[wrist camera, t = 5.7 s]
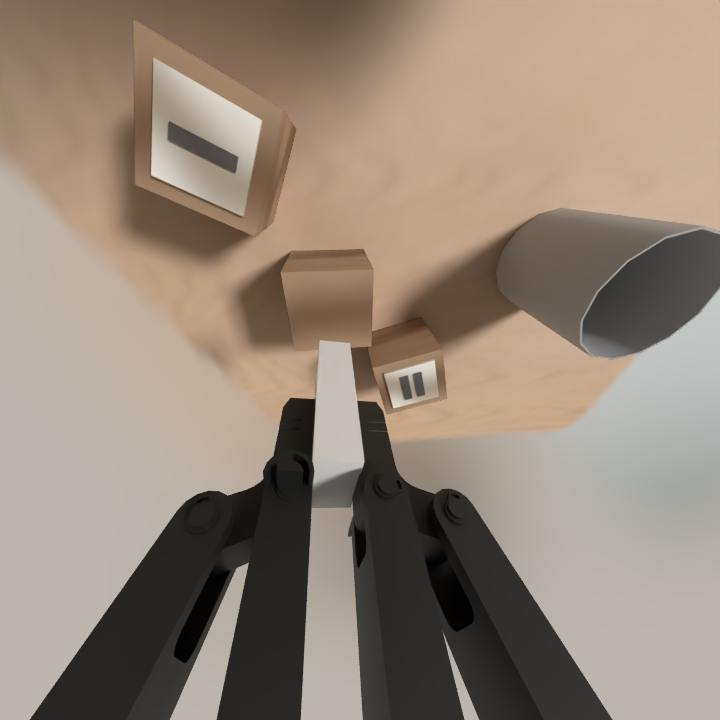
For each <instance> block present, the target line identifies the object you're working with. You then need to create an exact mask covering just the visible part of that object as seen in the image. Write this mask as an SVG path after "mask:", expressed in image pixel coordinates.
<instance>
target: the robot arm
mask: <svg viewBox="0 0 720 720" xmlns="http://www.w3.org/2000/svg"><path fill="white" fill-rule="evenodd" d="M263 477H264V479H263V480H262V481H261V482H260V483H258V484H257V485H255V486H254V487H252V488H249V489H247V490H244V491H241V492H238V493H235V494H232V495H228V496H227V495H225V494H223V493H221V492H219V491H207V492H203V493H200V494H197V495H195V496H194V497H192V498H191V499H189V500H188V501H186V502H185V503H184V504H183V505H182V506H181V507H180V508H179V510H178V511H177V512H176V513H175V515H174V516H173V517H172V519H171V520H170V522H169V523H168V525H167V526H166V527H165V529H164V530H163V532H162V533H161V534H160V536H159V537H158V539H157V540H156V542H155V543H154V545H153V546H152V547H151V549H150V550H149V551H148V553H147V554H146V556H145V557H144V559H143V560H142V562H141V563H140V564H139V566H138V567H137V569H136V570H135V571H134V573H133V574H132V576H131V577H130V578H129V580H128V581H127V583H126V584H125V586H124V587H123V588H122V590H121V591H120V593H119V594H118V595H117V597H116V598H115V600H114V601H113V603H112V604H111V605H110V607H109V608H108V610H107V611H106V613H105V614H104V615H103V617H102V618H101V620H100V621H99V622H98V624H97V625H96V627H95V628H94V629H93V631H92V632H91V634H90V635H89V637H88V638H87V639H86V641H85V642H84V644H83V645H82V646H81V648H80V649H79V651H78V652H77V654H76V655H75V657H74V658H73V659H72V661H71V662H70V664H69V665H68V666H67V668H66V669H65V671H64V672H63V673H62V675H61V677H60V678H59V679H58V681H57V682H56V683H55V685H54V686H53V688H52V689H51V690H50V692H49V693H48V695H47V696H46V698H45V699H44V700H43V702H42V703H41V705H40V706H39V707H38V709H37V710H36V712H35V713H34V715H33V716H32V717H31V719H30V720H170V718H171V715H172V713H173V710H174V708H175V706H176V704H177V702H178V700H179V697H180V695H181V693H182V690H183V688H184V686H185V684H186V681H187V679H188V677H189V675H190V672H191V670H192V668H193V665H194V663H195V661H196V659H197V656H198V654H199V652H200V650H201V647H202V645H203V643H204V640H205V638H206V636H207V634H208V631H209V629H210V627H211V625H212V622H213V620H214V618H215V615H216V613H217V611H218V609H219V606H220V604H221V602H222V600H223V597H224V595H225V593H226V591H227V588H228V586H229V583H230V581H231V579H232V577H233V575H234V572H235V570H236V568H237V567H240V566H242V565H244V564H246V563H249V565H248V570H247V575H246V579H245V585H244V589H243V594H242V599H241V604H240V609H239V613H238V618H237V624H236V628H235V633H234V638H233V643H232V647H231V652H230V657H229V662H228V667H227V672H226V677H225V682H224V687H223V691H222V697H221V701H220V706H219V711H218V716H217V720H301V701H302V682H303V661H304V642H305V623H306V602H307V584H308V565H309V546H310V526H311V508H334V507H351V504H352V501H353V514H354V515H353V518H352V522H351V524H350V527H349V532H348V536H351V535H352V545H353V563H354V578H355V594H356V595H355V596H356V612H357V629H358V646H359V663H360V679H361V695H362V711H363V720H464V717H463V712H462V709H461V704H460V700H459V696H458V692H457V688H456V684H455V680H454V676H453V672H452V668H451V664H450V660H449V656H448V652H447V648H446V644H445V639H444V636H443V633H444V635H445V637H446V640H447V642H448V645H449V647H450V650H451V652H452V654H453V657H454V659H455V662H456V664H457V667H458V669H459V672H460V674H461V676H462V679H463V681H464V684H465V686H466V689H467V691H468V693H469V696H470V698H471V701H472V703H473V706H474V708H475V710H476V713H477V715H478V717H479V720H612V718H611V717H610V715H609V714H608V712H607V711H606V709H605V708H604V706H603V705H602V703H601V701H600V700H599V698H598V697H597V695H596V694H595V692H594V691H593V689H592V688H591V686H590V685H589V683H588V681H587V680H586V678H585V677H584V676H583V674H582V672H581V671H580V669H579V668H578V666H577V665H576V663H575V662H574V660H573V659H572V657H571V655H570V654H569V653H568V651H567V649H566V648H565V646H564V645H563V643H562V641H561V640H560V638H559V637H558V635H557V634H556V632H555V631H554V629H553V628H552V626H551V624H550V623H549V621H548V620H547V618H546V617H545V615H544V614H543V612H542V611H541V609H540V608H539V606H538V604H537V603H536V602H535V600H534V598H533V597H532V595H531V594H530V593H529V591H528V589H527V588H526V586H525V585H524V583H523V581H522V580H521V578H520V577H519V575H518V574H517V572H516V571H515V569H514V568H513V566H512V564H511V563H510V561H509V560H508V559H507V557H506V555H505V554H504V552H503V551H502V549H501V548H500V546H499V544H498V543H497V541H496V540H495V538H494V537H493V535H492V534H491V532H490V531H489V529H488V527H487V526H486V524H485V523H484V521H483V520H482V518H481V517H480V515H479V514H478V512H477V511H476V509H475V507H474V506H473V504H472V503H471V502H470V501H469V500H468V499H467V497H465V496H464V495H462V494H461V493H460V492H458V491H456V490H453V489H442V490H440V491H439V492H437V493H436V494H433V493H430V492H427V491H424V490H421V489H418V488H416V487H414V486H411V485H410V484H409V483H407V482H406V481H405V480H404V479H403V478H402V477H401V476H400V475H399V473H398V471H397V469H396V466H395V462H394V457H393V453H392V449H391V444H390V440H389V436H388V433H387V427H386V424H385V418H384V414H383V411H382V409H381V408H380V407H379V405H378V404H377V402H367V401H357V396H356V388H355V380H354V372H353V364H352V356H351V348H350V343H343V342H333V341H323V340H320V342H319V353H318V363H317V373H316V384H315V399H301V398H290V399H289V401H288V402H287V403H286V404H285V406H284V407H283V411H282V416H281V421H280V426H279V431H278V436H277V441H276V446H275V451H274V456H273V457H272V458H271V459H270V460H269V461H268V462H267V464H266V466H265V468H264V470H263ZM442 630H443V631H442Z"/></svg>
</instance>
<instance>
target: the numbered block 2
mask: <svg viewBox="0 0 720 720" xmlns="http://www.w3.org/2000/svg"><path fill="white" fill-rule="evenodd" d="M368 351H369V356H370V360H371V364H372V369H373V372H374V375H375V378H376V382H377V385H378V388H379V391H380V394H381V398H382V401H383V404H384V407H385V411H386V414H390V413H394V412H398V411H402V410H406V409H410V408H413V407H417V406H421V405H425V404H429V403H433V402H436V401H440V400H444V399H447V393H446V382H445V371H444V361H443V350H442V348H441V346H440V345H439V343H438V342H437V340H436V339H435V337H434V336H433V334H432V333H431V331H430V330H429V328H428V327H427V325H426V324H425V322H424V321H423V319H422V318H418V319H414V320H411V321H407V322H404V323H400V324H397V325H393V326H390V327H386V328H383V329H379V330H376V331H372V342H371V347H368Z"/></svg>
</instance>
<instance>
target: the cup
mask: <svg viewBox="0 0 720 720" xmlns="http://www.w3.org/2000/svg"><path fill="white" fill-rule="evenodd" d="M496 279H497V285H498V290H499V291H500V292H501V293H502V294H503V295H504V296H505V297H506V298H507V299H508V300H509V301H510V302H512V303H513V304H515V305H516V306H517V307H519V308H520V309H522V310H523V311H525V312H526V313H528V314H529V315H531V316H532V317H534V318H535V319H537V320H538V321H540V322H541V323H543V324H544V325H545V326H547V327H548V328H550V329H551V330H553V331H554V332H556V333H557V334H559V335H560V336H562V337H563V338H565V339H566V340H568V341H569V342H570V343H572V344H573V345H575V346H576V347H578V348H579V349H581V350H582V351H584V352H585V353H587V354H588V355H590V356H591V357H597V358H604V359H611V360H613V359H617V358H622V357H626V356H630V355H634V354H638V353H641V352H643V351H645V350H647V349H649V348H651V347H652V346H654V345H656V344H658V343H660V342H662V341H664V340H666V339H668V338H670V337H671V336H672V335H674V334H675V333H676V332H677V331H679V330H680V329H681V328H683V327H684V326H685V325H686V324H688V323H689V322H690V321H691V320H693V319H694V318H695V317H696V316H697V315H699V314H700V313H701V312H702V310H703V309H704V308H705V306H707V304H708V303H709V302H710V301H711V299H712V298H713V297H714V296H715V295H716V294H717V292H718V291H719V290H720V231H717V230H714V229H711V228H708V227H705V226H698V225H690V224H682V223H674V222H667V221H659V220H651V219H643V218H635V217H628V216H620V215H612V214H604V213H596V212H589V211H581V210H573V209H565V208H559V209H555V210H552V211H548V212H545V213H541V214H538V215H537V216H535V217H534V218H533V219H531V220H530V221H529V222H527V223H526V224H525V225H523V226H522V227H521V228H519V229H518V230H517V231H516V232H515V234H514V235H513V236H512V238H511V239H510V241H509V242H508V243H507V245H506V246H505V248H504V249H503V250H502V252H501V256H500V259H499V262H498V266H497V269H496Z"/></svg>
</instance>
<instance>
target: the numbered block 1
mask: <svg viewBox="0 0 720 720" xmlns="http://www.w3.org/2000/svg"><path fill="white" fill-rule="evenodd" d="M133 34H134V143H135V185H137V186H139V187H142V188H144V189H146V190H149V191H151V192H153V193H156V194H158V195H160V196H162V197H165V198H167V199H169V200H172V201H174V202H176V203H179V204H181V205H183V206H186V207H188V208H190V209H193V210H195V211H197V212H199V213H202V214H204V215H206V216H209V217H211V218H213V219H216V220H218V221H220V222H223V223H225V224H227V225H230V226H232V227H234V228H236V229H239V230H241V231H243V232H246V233H248V234H250V235H253V236H255V237H256V236H257V235H258V234H260V233H261V232H262V231H263V230H265V229H266V228H267V227H268V226H270V225H271V224H272V223H273V221H274V217H275V213H276V209H277V205H278V201H279V197H280V193H281V189H282V185H283V181H284V177H285V173H286V169H287V165H288V161H289V157H290V153H291V149H292V145H293V141H294V137H295V132H296V128H295V127H294V125H293V124H292V122H291V121H290V119H289V118H288V116H287V114H286V113H285V111H284V110H283V109H281V108H279V107H278V106H276V105H274V104H273V103H271V102H270V101H268V100H266V99H265V98H263V97H261V96H260V95H258V94H256V93H255V92H253V91H251V90H250V89H248V88H246V87H245V86H243V85H242V84H240V83H238V82H237V81H235V80H233V79H232V78H230V77H228V76H227V75H225V74H223V73H222V72H220V71H218V70H217V69H215V68H213V67H212V66H210V65H209V64H207V63H205V62H204V61H202V60H200V59H199V58H197V57H195V56H194V55H192V54H190V53H189V52H187V51H185V50H184V49H182V48H181V47H179V46H177V45H176V44H174V43H172V42H171V41H169V40H167V39H166V38H164V37H162V36H161V35H159V34H157V33H156V32H154V31H152V30H151V29H149V28H148V27H146V26H144V25H143V24H141V23H139V22H138V21H136V20H134V19H133Z"/></svg>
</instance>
